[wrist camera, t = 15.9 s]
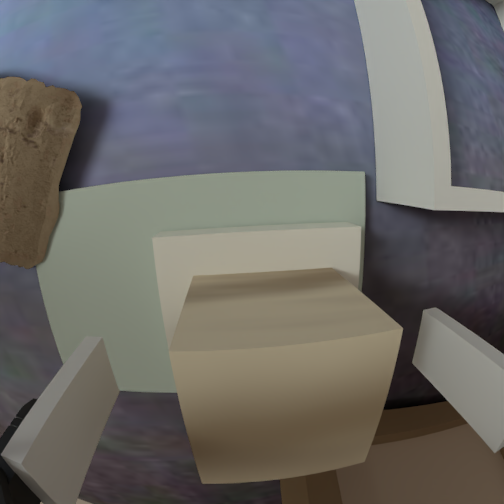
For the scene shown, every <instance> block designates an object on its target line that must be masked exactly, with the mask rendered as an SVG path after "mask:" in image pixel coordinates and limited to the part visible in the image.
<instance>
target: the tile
mask: <svg viewBox="0 0 504 504" xmlns="http://www.w3.org/2000/svg"><path fill="white" fill-rule="evenodd" d="M152 242H153V251H154V260H155V268H156V276H157V283H158V290H159V297H160V303H161V310H162V316H163V322H164V328H165V333H166V339H167V344H168V349H170V346H171V342H172V339H173V336H174V333H175V329H176V326H177V323H178V320H179V317H180V314H181V311H182V308H183V305H184V302H185V299H186V296H187V293H188V290H189V287H190V284H191V281H192V278H193V276H196V275H217V274H236V273H254V272H271V271H287V270H303V269H318V268H333V269H334V270H335V271H336V272H338V273H339V274H340V275H341V276H343V277H344V278H345V279H346V280H347V281H349V282H350V283H351V284H352V285H353V286H355V287H356V288H357V289H358V285H359V270H360V250H361V226H358V225H355V224H352V223H349V222H329V223H303V224H280V225H259V226H241V227H223V228H207V229H191V230H176V231H162V232H159V233H158V234H156V235H155V236H154V237H152Z"/></svg>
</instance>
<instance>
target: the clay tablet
mask: <svg viewBox="0 0 504 504" xmlns="http://www.w3.org/2000/svg"><path fill="white" fill-rule="evenodd" d="M81 108H82V105H81V102H80V100H79V97H78V96H77V94H76V93H75V92H74V91H69V90H67V89H64V88H55V87H54V86H53V85H52V86H49V87H46V86H45V84H44V82H39V81H37V80H36V79H30V80H28V81H27V82H26V80H25V79H22V78H21V77H6V78H0V262H6V263H8V264H10V265H18V266H19V267H24V268H25V269H30V268H32V267H33V266H35V265H37V264H39V263H41V262H42V261H43V259H44V257H45V253H46V250H47V245H48V241H49V236H50V234H51V232H52V230H53V228H54V226H55V224H56V221H57V219H58V216H59V208H60V206H59V183H60V179H61V176H62V173H63V170H64V167H65V164H66V161H67V157H68V154H69V152H70V149H71V145H72V142H73V139H74V136H75V134H76V131H77V129H78V126H79V124H80V111H81Z"/></svg>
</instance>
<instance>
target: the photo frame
mask: <svg viewBox="0 0 504 504" xmlns="http://www.w3.org/2000/svg"><path fill="white" fill-rule="evenodd" d="M280 486H281V496H282V504H504V447H503V448H501V449H500V450H498V451H497V452H496V453H494V452H493V451H492V450H491V449H490V447H489V446H488V445H487V444H486V443H485V442H484V440H483V439H482V438H481V437H480V436H479V435H478V434H477V433H476V431H475V430H474V429H473V428H472V427H471V426H470V425H469V424H468V423H467V421H466V420H465V419H464V418H463V417H462V416H461V415H460V414H459V413H458V411H457V410H456V409H455V408H454V407H453V406H452V405H451V404H450V403H449V402H448V401H445V402H439V403H434V404H428V405H421V406H415V407H407V408H399V409H390V410H383V411H382V415H381V418H380V421H379V424H378V427H377V430H376V433H375V436H374V438H373V441H372V444H371V447H370V449H369V452H368V454H367V457H366V459H365V462H362V463H359V464H355V465H351V466H347V467H343V468H339V469H335V470H330V471H325V472H321V473H315V474H310V475H304V476H298V477H292V478H285V479H280Z"/></svg>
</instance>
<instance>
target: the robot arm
mask: <svg viewBox="0 0 504 504" xmlns="http://www.w3.org/2000/svg"><path fill="white" fill-rule="evenodd" d="M412 364H413V365H414V366H415V367H416V368H417V369H418V370H419V371H420V372H421V373H422V374H423V375H424V376H425V377H426V378H427V379H428V380H429V381H430V382H431V383H432V385H433V386H434V387H435V388H436V389H437V390H438V391H439V392H440V393H441V394H442V395H443V396H444V397H445V398H446V400H447V401H448V402H449V403H450V404H451V405H452V406H453V407H454V408H455V409H456V410H457V411H458V413H459V414H460V415H461V416H462V417H463V418H464V419H465V420H466V421H467V423H468V424H469V425H470V426H471V427H472V428H473V429H474V430H475V431H476V433H477V434H478V435H479V436H480V437H481V438H482V439H483V440H484V442H485V443H486V444H487V445H488V446H489V447H490V449H491V450H492V451H493V452H494V453H496V452H497V451H498V450H500V449H501V448H503V447H504V353H502V352H500V351H499V350H497V349H496V348H494V347H493V346H492V345H490V344H489V343H487V342H486V341H485V340H483V339H482V338H480V337H479V336H477V335H476V334H475V333H473V332H472V331H470V330H469V329H467V328H466V327H464V326H463V325H461V324H460V323H459V322H457V321H456V320H454V319H453V318H451V317H450V316H448V315H447V314H445V313H444V312H442V311H441V310H439V309H438V308H436V307H435V308H430V309H425V310H423V314H422V319H421V325H420V330H419V334H418V339H417V344H416V348H415V352H414V356H413V360H412ZM118 394H119V389H118V386H117V383H116V380H115V377H114V374H113V371H112V368H111V365H110V361H109V358H108V355H107V351H106V348H105V344H104V341H103V337H92V336H86V337H85V338H84V339H83V341H82V342H81V343H80V344H79V346H78V347H77V348H76V349H75V351H74V352H73V353H72V355H71V356H70V357H69V358H68V360H67V361H66V362H65V363H64V365H63V366H62V367H61V369H60V370H59V371H58V373H57V374H56V375H55V377H54V378H53V379H52V381H51V382H50V383H49V385H48V386H47V387H46V389H45V390H44V391H43V393H42V394H41V395H40V397H39V398H38V399H32V400H31V401H29V402H28V403H27V404H25V405H24V406H23V407H22V408H21V410H20V411H19V412H18V414H17V415H16V418H14V419H13V421H12V422H11V426H8V428H7V429H6V431H5V432H4V434H3V435H2V437H1V438H0V504H40V502H42V503H44V504H76V501H77V498H78V495H79V493H80V490H81V487H82V484H83V481H84V479H85V476H86V473H87V470H88V468H89V465H90V462H91V460H92V457H93V455H94V452H95V449H96V447H97V444H98V442H99V439H100V437H101V434H102V432H103V430H104V427H105V425H106V422H107V420H108V418H109V415H110V413H111V410H112V408H113V406H114V403H115V401H116V399H117V397H118Z"/></svg>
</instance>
